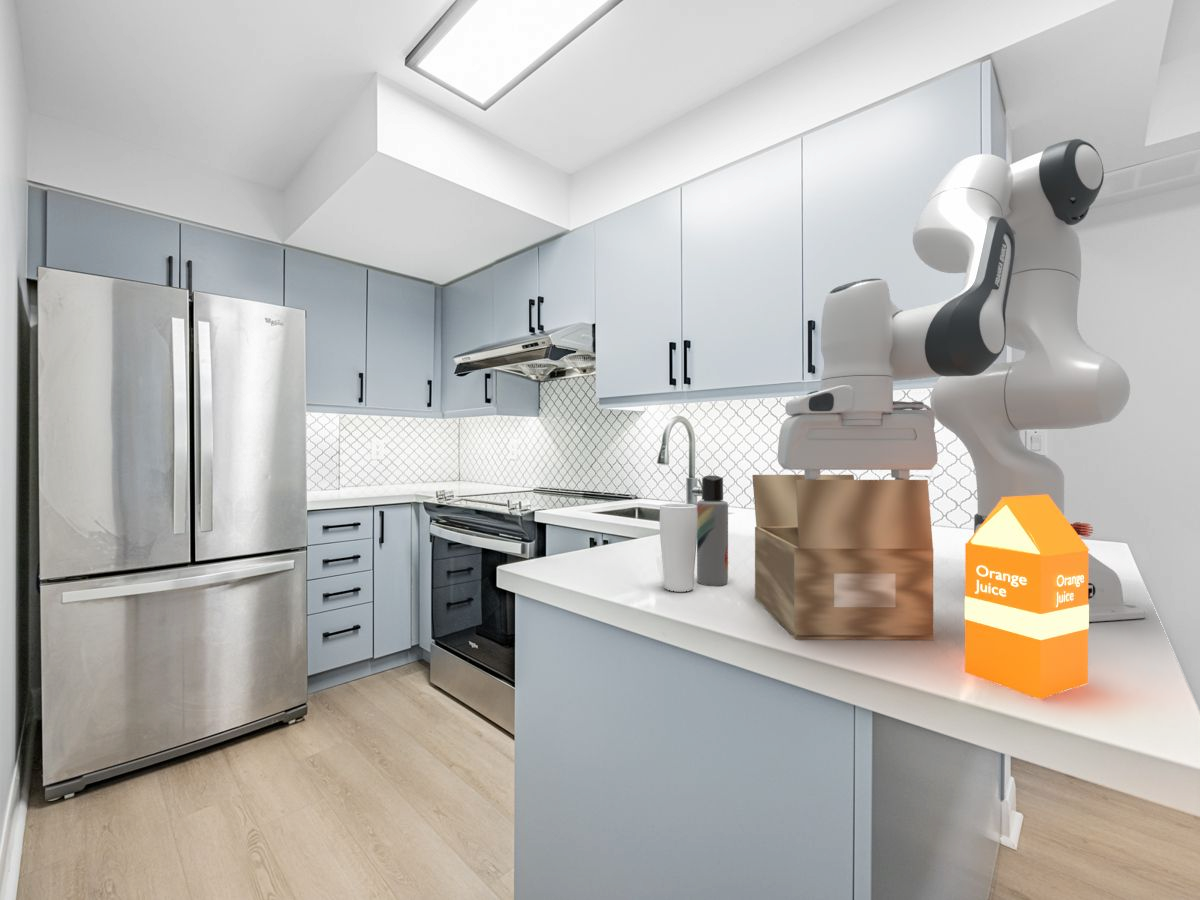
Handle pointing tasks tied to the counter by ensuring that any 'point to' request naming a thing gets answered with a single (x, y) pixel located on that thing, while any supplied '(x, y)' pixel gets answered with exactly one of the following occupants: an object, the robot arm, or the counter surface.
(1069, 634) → the orange juice
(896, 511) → the near flap
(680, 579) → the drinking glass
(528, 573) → the counter surface
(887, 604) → the carton
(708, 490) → the lotion bottle
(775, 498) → the far flap
